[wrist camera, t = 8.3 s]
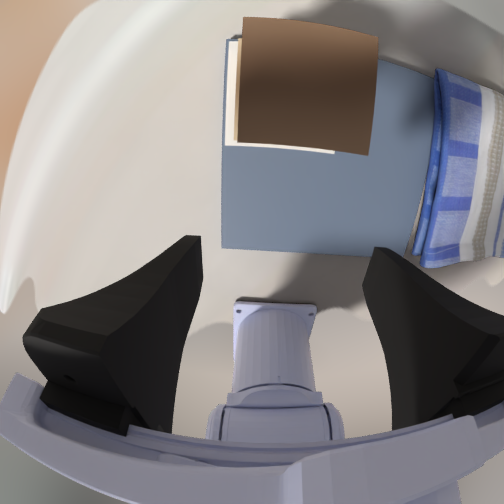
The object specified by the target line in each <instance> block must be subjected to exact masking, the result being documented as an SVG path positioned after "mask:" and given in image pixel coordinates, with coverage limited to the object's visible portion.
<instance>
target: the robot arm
mask: <svg viewBox="0 0 504 504" xmlns="http://www.w3.org/2000/svg"><path fill="white" fill-rule="evenodd" d="M202 282H203V266H202V250H201V236H192V235H186V236H184V237H183V238H181V239H180V240H178V241H177V242H176V243H174V244H173V245H172V246H171V247H169V248H168V249H167V250H165V251H164V252H163V253H161V254H160V255H159V256H157V257H156V258H154V259H153V260H151V261H150V262H149V263H147V264H146V265H144V266H143V267H141V268H140V269H138V270H137V271H135V272H133V273H132V274H130V275H128V276H127V277H125V278H123V279H121V280H119V281H117V282H115V283H113V284H111V285H109V286H107V287H105V288H103V289H100V290H98V291H96V292H94V293H91V294H89V295H86V296H83V297H80V298H78V299H75V300H72V301H68V302H65V303H61V304H58V305H54V306H50V307H46V308H42V309H41V310H40V311H39V313H38V314H37V316H36V317H35V319H34V320H33V321H32V323H31V324H30V326H29V327H28V329H27V331H26V332H25V333H24V335H23V345H24V347H25V350H26V352H27V353H28V355H29V356H30V358H31V359H32V361H33V362H34V363H35V365H36V366H37V367H38V369H39V370H40V371H41V372H42V374H43V375H44V376H45V377H46V379H47V380H48V381H47V383H46V386H45V387H43V386H42V385H41V384H40V383H38V382H36V381H34V380H32V379H30V378H28V377H26V376H24V375H22V374H20V373H18V372H17V373H15V375H14V377H13V379H12V381H11V382H10V384H9V386H8V388H7V390H6V392H5V395H4V397H3V398H2V401H1V403H0V435H1V436H2V437H4V438H5V439H6V440H8V441H9V442H10V443H12V444H13V445H15V446H16V447H17V448H19V449H20V450H22V451H23V452H25V453H26V454H28V455H29V456H31V457H32V458H34V459H36V460H37V461H39V462H40V463H42V464H44V465H45V466H47V467H49V468H51V469H53V470H55V471H56V472H58V473H60V474H62V475H63V476H65V477H67V478H69V479H71V480H73V481H76V482H78V483H80V484H82V485H84V486H86V487H88V488H91V489H93V490H95V491H98V492H100V493H103V494H106V495H108V496H110V497H113V498H116V499H119V500H122V501H125V502H128V503H131V504H461V499H460V492H459V487H458V482H457V480H458V479H461V478H463V477H464V476H466V475H468V474H470V473H472V472H473V471H475V470H477V469H478V468H480V467H482V466H483V465H484V463H485V462H486V461H487V460H489V459H491V458H492V457H494V456H495V455H497V454H498V453H499V452H501V451H502V450H504V316H503V315H500V314H497V313H495V312H492V311H490V310H487V309H485V308H483V307H481V306H478V305H476V304H474V303H472V302H470V301H468V300H466V299H465V298H462V297H461V296H459V295H457V294H456V293H454V292H452V291H451V290H449V289H447V288H446V287H444V286H443V285H441V284H440V283H438V282H437V281H435V280H434V279H432V278H431V277H429V276H428V275H427V274H425V273H424V272H423V271H421V270H420V269H418V268H417V267H416V266H414V265H413V264H412V263H410V262H409V261H407V260H406V259H405V258H403V257H402V256H400V255H399V254H397V253H396V252H394V251H392V250H391V249H389V248H387V247H374V250H373V253H372V257H371V260H370V263H369V266H368V269H367V272H366V275H365V278H364V281H363V284H362V286H363V291H364V295H365V299H366V303H367V307H368V309H369V312H370V315H371V317H372V320H373V323H374V325H375V328H376V331H377V333H378V336H379V339H380V341H381V345H382V348H383V351H384V354H385V360H386V364H387V370H388V376H389V383H390V391H391V404H392V431H389V432H384V433H379V434H373V435H368V436H362V437H355V438H348V439H345V438H344V426H343V421H342V417H341V415H340V412H339V411H338V410H337V409H336V408H335V407H334V406H333V404H332V403H329V402H328V403H323V400H322V392H316V389H315V381H314V374H313V366H312V360H311V352H310V345H309V337H310V334H311V330H312V327H313V323H314V320H315V316H316V312H317V307H316V306H315V305H309V304H281V303H260V302H242V301H237V302H235V303H234V361H235V362H234V373H233V383H232V393H228V395H227V405H226V404H218V405H217V406H216V408H215V409H213V410H212V411H211V413H210V415H209V418H208V423H207V429H206V439H201V438H194V437H187V436H181V435H175V434H172V423H173V412H174V403H175V395H176V388H177V381H178V374H179V369H180V363H181V358H182V352H183V348H184V344H185V340H186V337H187V334H188V331H189V328H190V325H191V322H192V319H193V316H194V313H195V310H196V307H197V304H198V301H199V297H200V292H201V287H202ZM238 310H240V311H238ZM309 313H311V314H309Z"/></svg>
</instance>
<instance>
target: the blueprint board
mask: <svg viewBox="0 0 504 504" xmlns="http://www.w3.org/2000/svg"><path fill="white" fill-rule="evenodd" d="M237 52H238V39H226V54H225V74H224V98H223V129H222V188H221V235H222V248H227V249H244V250H262V251H279V252H296V253H314V254H331V255H348V256H365V257H372V253H373V250H374V247H387V248H389V249H391V250H392V251H394V252H396V253H397V254H399V255H400V256H402V257H403V256H404V253H405V250H406V247H407V244H408V241H409V238H410V235H411V232H412V228H413V225H414V221H415V218H416V214H417V211H418V207H419V203H420V200H421V196H422V191H423V187H424V183H425V179H426V174H427V169H428V164H429V159H430V152H431V144H432V135H433V126H434V115H435V109H434V95H435V93H434V78H431V77H429V76H426V75H424V74H421V73H419V72H416V71H413V70H411V69H408V68H405V67H402V66H399V65H396V64H393V63H390V62H387V61H383V60H380V59H378V67H377V83H376V96H375V107H374V116H373V125H372V133H371V141H370V148H369V154H368V156H365V155H359V154H353V153H346V152H339V151H332V150H324V149H316V148H307V147H297V146H286V145H274V144H257V143H237V140H234V116H235V92H236V71H237Z"/></svg>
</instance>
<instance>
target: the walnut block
mask: <svg viewBox="0 0 504 504" xmlns="http://www.w3.org/2000/svg"><path fill="white" fill-rule="evenodd" d="M377 67H378V37H375V36H372V35H368V34H365V33H361V32H357V31H353V30H349V29H344V28H340V27H335V26H330V25H324V24H318V23H312V22H305V21H297V20H288V19H277V18H261V17H243V29H242V46H241V65H240V86H239V108H238V134H237V143H257V144H274V145H286V146H297V147H307V148H316V149H324V150H332V151H339V152H346V153H353V154H359V155H365V156H368V154H369V148H370V141H371V133H372V125H373V116H374V107H375V96H376V83H377Z"/></svg>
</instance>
